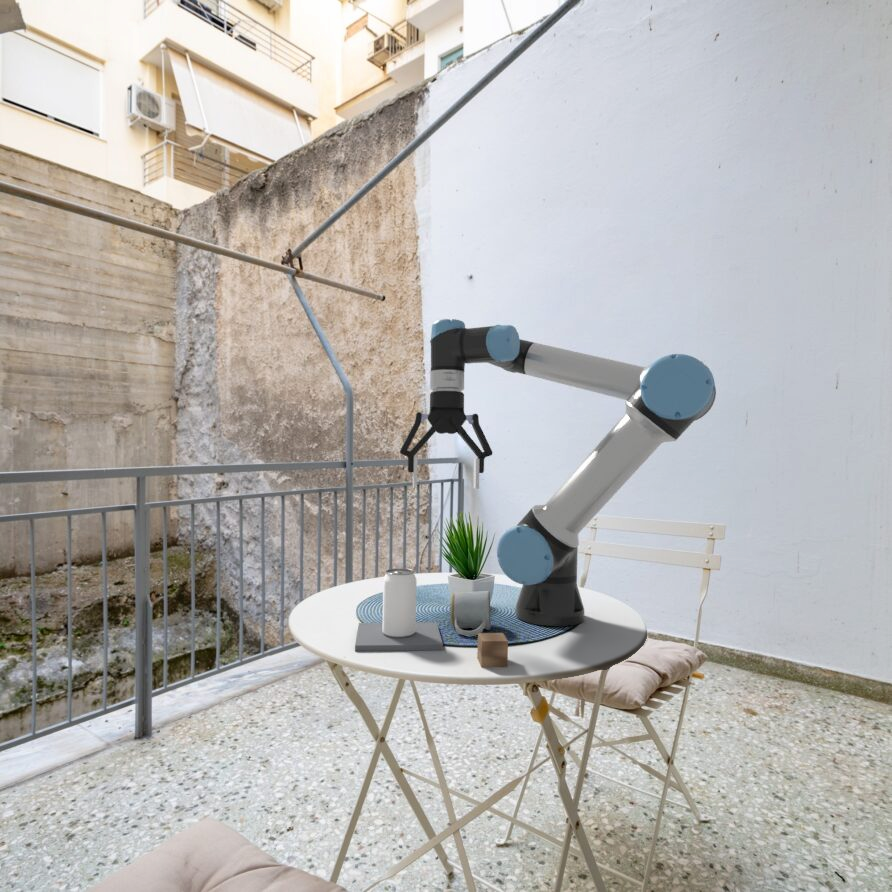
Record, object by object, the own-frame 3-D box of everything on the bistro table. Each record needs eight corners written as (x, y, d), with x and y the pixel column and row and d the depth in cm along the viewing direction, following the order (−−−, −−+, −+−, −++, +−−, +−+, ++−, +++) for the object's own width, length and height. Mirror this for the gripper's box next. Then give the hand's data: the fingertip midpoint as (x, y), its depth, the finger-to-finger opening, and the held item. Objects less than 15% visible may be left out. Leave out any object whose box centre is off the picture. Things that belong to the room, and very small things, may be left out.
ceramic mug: (452, 621, 126) (453, 585, 126) (490, 623, 125) (491, 587, 125) (448, 637, 115) (448, 599, 115) (489, 639, 114) (490, 600, 114)
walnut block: (502, 658, 104) (502, 632, 104) (507, 667, 100) (507, 641, 100) (477, 658, 104) (477, 633, 104) (481, 667, 99) (481, 641, 99)
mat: (436, 627, 121) (436, 622, 121) (442, 650, 107) (443, 644, 107) (358, 627, 120) (358, 622, 120) (354, 651, 106) (355, 645, 106)
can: (409, 626, 118) (410, 567, 118) (420, 636, 112) (421, 573, 112) (378, 630, 115) (379, 569, 115) (388, 640, 109) (389, 575, 109)
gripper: (390, 387, 123) (389, 488, 123) (506, 391, 126) (505, 489, 126) (389, 391, 131) (388, 486, 130) (499, 394, 134) (497, 487, 133)
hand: (445, 488), depth 128 cm, fingers open, 13 cm apart
